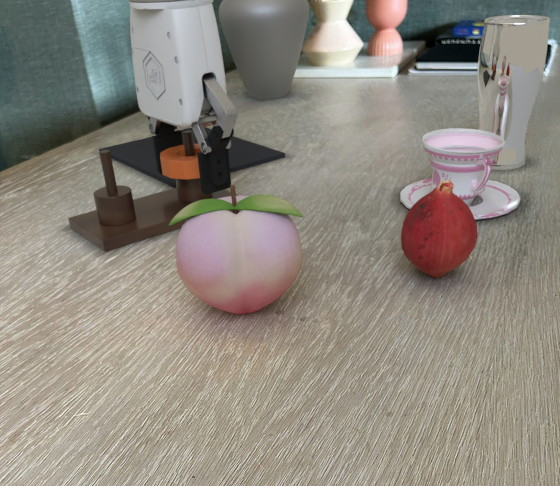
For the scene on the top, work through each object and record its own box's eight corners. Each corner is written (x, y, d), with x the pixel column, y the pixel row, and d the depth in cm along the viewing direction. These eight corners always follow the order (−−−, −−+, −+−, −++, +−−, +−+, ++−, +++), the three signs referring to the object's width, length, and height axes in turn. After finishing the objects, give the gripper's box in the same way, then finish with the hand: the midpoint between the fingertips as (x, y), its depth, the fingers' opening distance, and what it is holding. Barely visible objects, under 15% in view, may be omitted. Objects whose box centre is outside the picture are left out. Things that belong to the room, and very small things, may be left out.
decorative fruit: (294, 281, 55) (290, 160, 50) (312, 331, 49) (309, 197, 43) (181, 294, 55) (163, 171, 49) (183, 345, 48) (162, 211, 42)
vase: (208, 100, 113) (190, -78, 99) (261, 84, 122) (252, -81, 108) (276, 109, 106) (267, -83, 92) (327, 91, 115) (326, -86, 101)
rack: (70, 229, 68) (52, 150, 63) (204, 190, 75) (196, 118, 71) (105, 252, 62) (87, 169, 58) (245, 208, 70) (239, 131, 66)
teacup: (379, 192, 72) (381, 133, 69) (476, 175, 75) (483, 118, 72) (436, 231, 63) (442, 164, 59) (545, 210, 66) (556, 146, 62)
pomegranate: (417, 298, 52) (425, 198, 47) (387, 268, 57) (391, 174, 52) (484, 285, 53) (498, 187, 49) (449, 257, 58) (459, 164, 53)
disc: (152, 170, 69) (149, 152, 68) (201, 157, 72) (199, 140, 71) (182, 183, 65) (179, 165, 64) (232, 169, 68) (231, 151, 67)
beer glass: (505, 175, 75) (526, 25, 66) (454, 163, 79) (468, 20, 71) (541, 161, 78) (565, 16, 70) (490, 150, 83) (508, 13, 74)
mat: (99, 153, 90) (98, 148, 89) (200, 129, 98) (200, 125, 97) (175, 188, 76) (174, 183, 76) (285, 157, 84) (285, 152, 84)
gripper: (89, -13, 64) (122, 170, 73) (184, -6, 52) (208, 211, 62) (158, -21, 67) (181, 155, 77) (261, -15, 56) (273, 191, 65)
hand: (193, 179), depth 69 cm, fingers open, 8 cm apart
